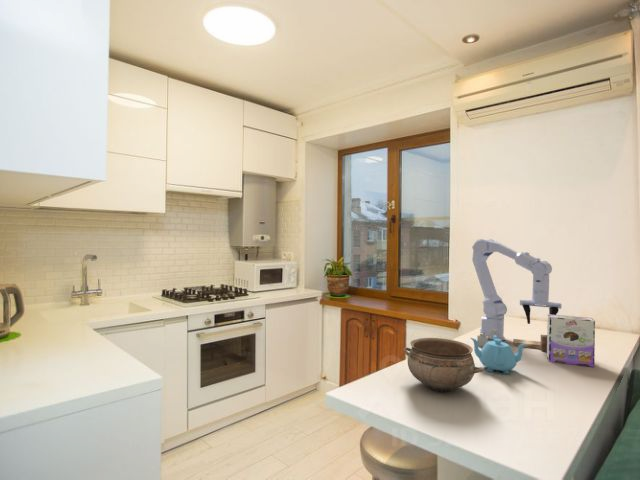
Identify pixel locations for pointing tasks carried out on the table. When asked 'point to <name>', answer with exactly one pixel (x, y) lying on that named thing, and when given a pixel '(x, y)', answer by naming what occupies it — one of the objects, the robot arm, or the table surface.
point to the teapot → (498, 355)
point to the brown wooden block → (543, 343)
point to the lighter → (485, 338)
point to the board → (529, 343)
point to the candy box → (571, 340)
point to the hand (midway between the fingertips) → (539, 324)
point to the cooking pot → (441, 363)
